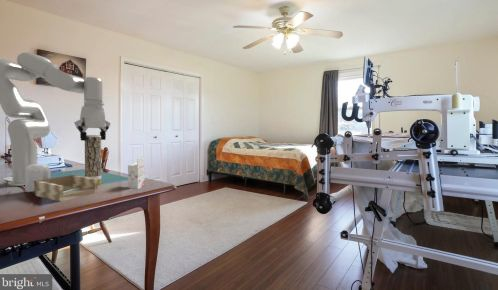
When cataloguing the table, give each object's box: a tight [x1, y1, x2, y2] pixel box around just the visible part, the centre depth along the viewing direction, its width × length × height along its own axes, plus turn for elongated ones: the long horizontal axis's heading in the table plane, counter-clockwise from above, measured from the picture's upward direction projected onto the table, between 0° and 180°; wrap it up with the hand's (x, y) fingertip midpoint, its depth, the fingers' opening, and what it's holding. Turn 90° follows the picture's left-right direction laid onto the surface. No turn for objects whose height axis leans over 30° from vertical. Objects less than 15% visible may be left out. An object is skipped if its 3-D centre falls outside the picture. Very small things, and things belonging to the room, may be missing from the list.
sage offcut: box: [63, 188, 80, 194], centre depth 109 cm, size 3×10×2 cm
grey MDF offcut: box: [63, 189, 88, 195], centre depth 108 cm, size 3×10×2 cm, turn 161°
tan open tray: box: [33, 174, 99, 202], centre depth 109 cm, size 16×15×7 cm
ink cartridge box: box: [127, 157, 146, 190], centre depth 128 cm, size 9×5×15 cm, turn 0°
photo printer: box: [24, 163, 52, 193], centre depth 114 cm, size 10×4×12 cm, turn 81°
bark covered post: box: [84, 134, 102, 187], centre depth 125 cm, size 7×7×25 cm
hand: (93, 140), depth 125 cm, fingers open, 9 cm apart
